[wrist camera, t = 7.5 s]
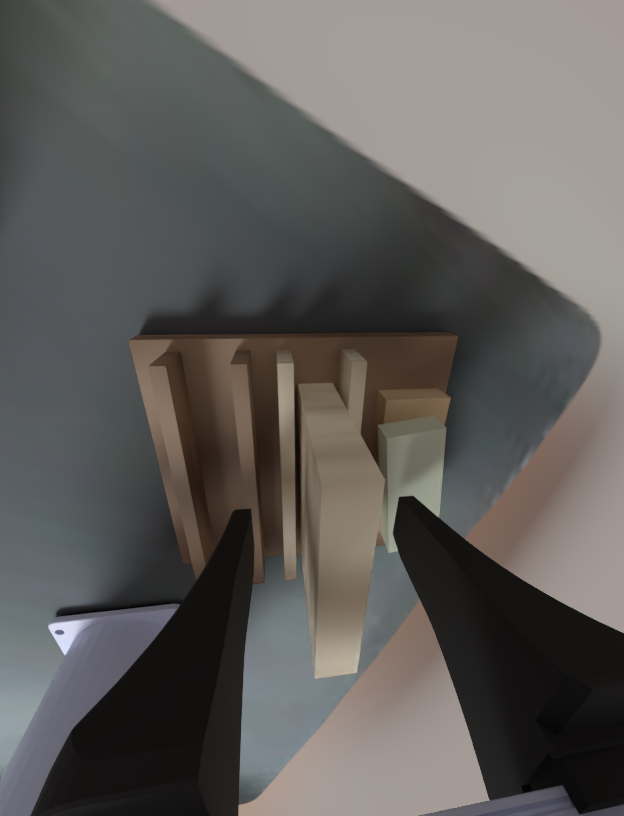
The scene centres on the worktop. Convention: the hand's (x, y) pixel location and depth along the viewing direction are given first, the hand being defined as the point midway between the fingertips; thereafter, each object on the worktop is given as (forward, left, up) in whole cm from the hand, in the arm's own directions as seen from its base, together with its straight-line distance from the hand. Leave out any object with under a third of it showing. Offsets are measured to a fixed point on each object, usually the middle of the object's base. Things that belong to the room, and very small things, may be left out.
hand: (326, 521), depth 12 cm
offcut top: (0, -4, -3) cm, 5 cm away
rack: (0, 0, -5) cm, 5 cm away
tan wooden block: (0, 0, -4) cm, 4 cm away
